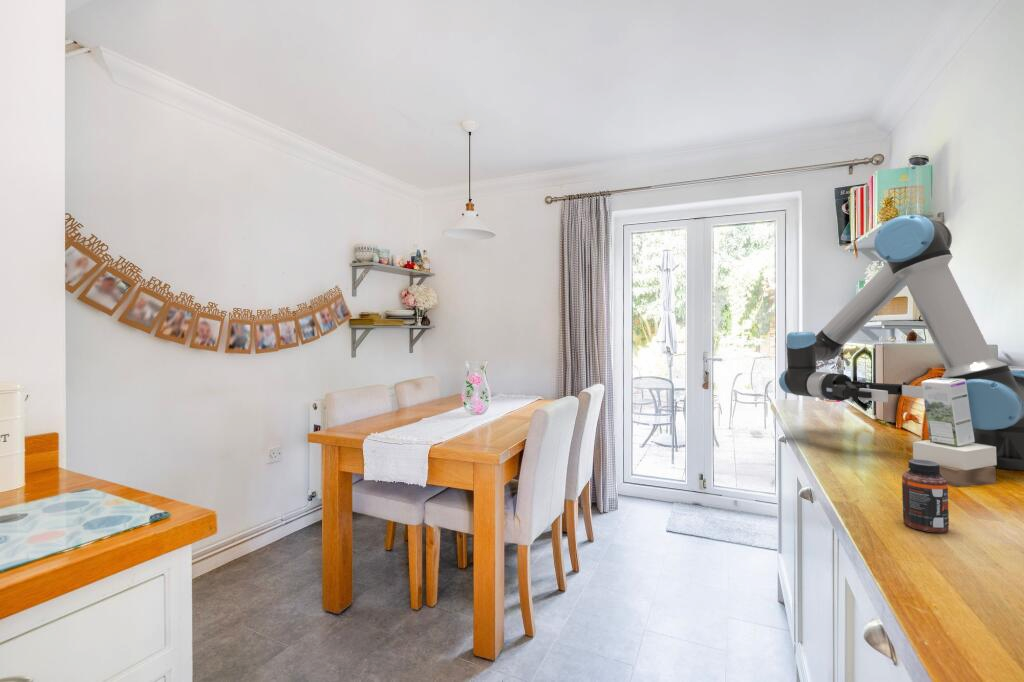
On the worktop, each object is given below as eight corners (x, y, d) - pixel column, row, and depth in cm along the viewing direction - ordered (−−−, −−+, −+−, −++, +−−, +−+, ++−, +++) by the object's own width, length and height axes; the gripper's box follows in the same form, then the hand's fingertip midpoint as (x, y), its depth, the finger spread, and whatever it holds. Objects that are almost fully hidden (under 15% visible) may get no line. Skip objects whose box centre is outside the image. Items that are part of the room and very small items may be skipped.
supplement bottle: (953, 537, 76) (951, 468, 76) (906, 530, 79) (904, 464, 79) (944, 524, 81) (942, 459, 81) (900, 518, 84) (898, 456, 84)
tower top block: (943, 454, 111) (942, 437, 111) (996, 464, 102) (996, 446, 102) (913, 459, 108) (912, 442, 108) (965, 470, 99) (965, 451, 99)
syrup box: (976, 442, 104) (967, 377, 104) (957, 447, 102) (948, 381, 102) (946, 438, 109) (938, 377, 109) (928, 442, 108) (919, 380, 108)
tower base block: (946, 472, 110) (946, 455, 110) (996, 485, 100) (995, 467, 100) (910, 475, 109) (909, 458, 109) (956, 489, 99) (955, 470, 99)
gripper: (865, 396, 135) (949, 407, 114) (794, 402, 129) (867, 414, 108) (865, 370, 135) (948, 376, 114) (793, 375, 129) (867, 382, 108)
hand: (909, 394), depth 111 cm, fingers open, 13 cm apart
